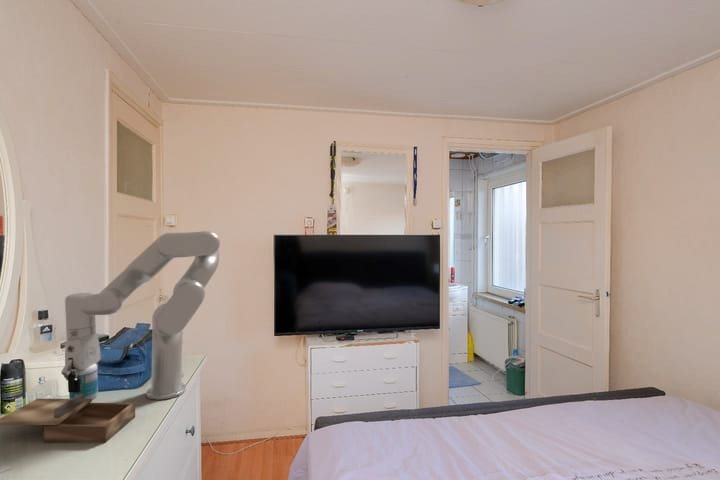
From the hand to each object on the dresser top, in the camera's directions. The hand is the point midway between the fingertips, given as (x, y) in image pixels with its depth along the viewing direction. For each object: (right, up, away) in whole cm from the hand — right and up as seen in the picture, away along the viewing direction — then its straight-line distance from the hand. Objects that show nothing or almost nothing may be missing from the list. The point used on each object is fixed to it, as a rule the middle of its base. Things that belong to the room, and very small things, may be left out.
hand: (83, 386), depth 118 cm
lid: (0, -2, -14) cm, 14 cm away
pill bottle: (0, -5, 0) cm, 5 cm away
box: (+12, -7, -13) cm, 19 cm away
